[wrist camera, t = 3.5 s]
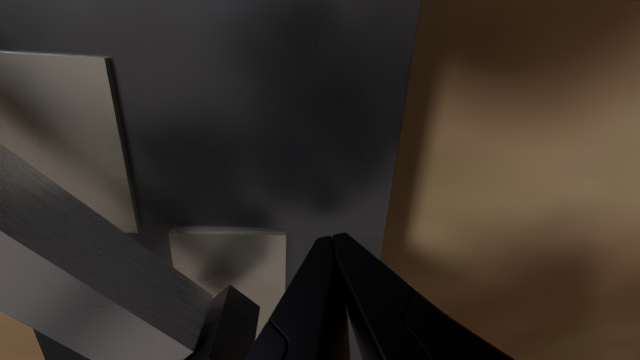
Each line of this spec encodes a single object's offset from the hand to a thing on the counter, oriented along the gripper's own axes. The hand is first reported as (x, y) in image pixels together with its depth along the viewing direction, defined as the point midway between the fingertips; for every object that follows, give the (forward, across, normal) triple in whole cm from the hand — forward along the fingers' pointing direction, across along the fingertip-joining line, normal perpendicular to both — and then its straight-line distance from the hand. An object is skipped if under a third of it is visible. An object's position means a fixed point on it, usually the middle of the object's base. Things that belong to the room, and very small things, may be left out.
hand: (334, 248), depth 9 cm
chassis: (+3, +4, 0) cm, 5 cm away
